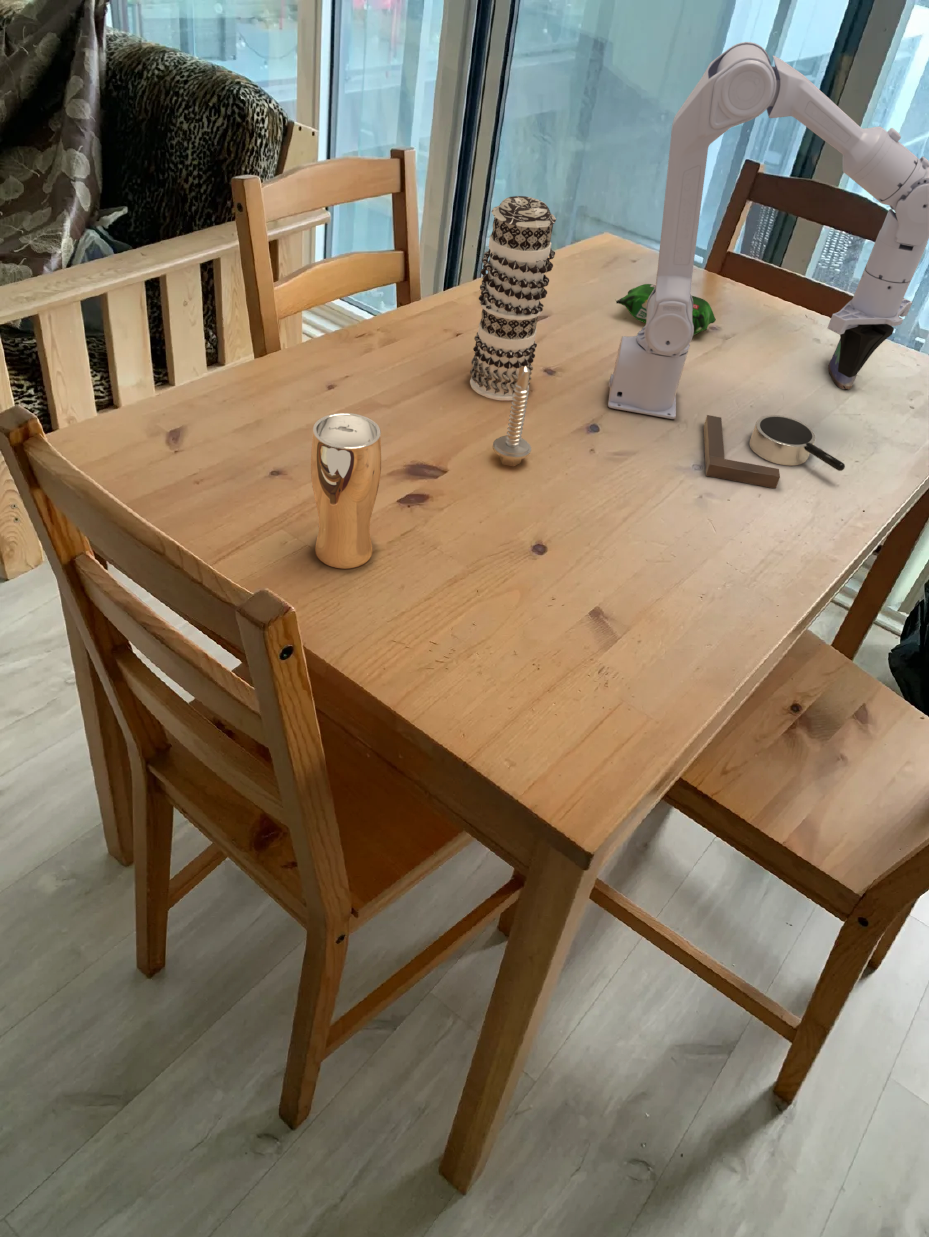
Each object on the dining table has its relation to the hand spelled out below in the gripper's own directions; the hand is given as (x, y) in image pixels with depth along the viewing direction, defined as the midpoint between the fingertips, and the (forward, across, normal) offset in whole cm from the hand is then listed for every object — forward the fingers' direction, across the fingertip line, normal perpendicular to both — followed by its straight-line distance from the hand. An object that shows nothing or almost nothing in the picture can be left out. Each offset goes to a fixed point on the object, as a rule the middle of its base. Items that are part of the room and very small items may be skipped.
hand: (846, 373), depth 125 cm
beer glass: (+10, -73, +8) cm, 74 cm away
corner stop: (+9, -16, +1) cm, 19 cm away
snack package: (+10, +4, +36) cm, 38 cm away
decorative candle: (+10, -34, +30) cm, 47 cm away
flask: (+10, +18, +11) cm, 23 cm away
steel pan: (+9, -9, -3) cm, 14 cm away
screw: (+10, -45, +14) cm, 48 cm away
